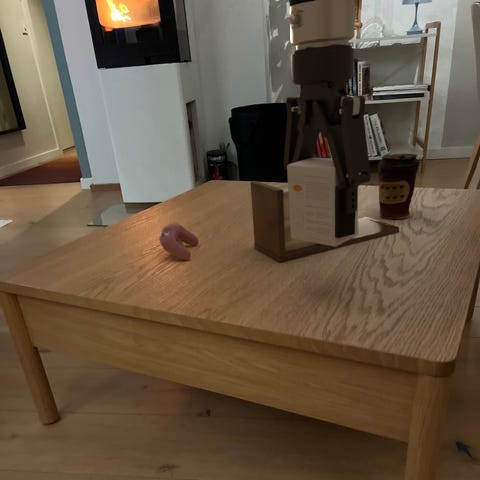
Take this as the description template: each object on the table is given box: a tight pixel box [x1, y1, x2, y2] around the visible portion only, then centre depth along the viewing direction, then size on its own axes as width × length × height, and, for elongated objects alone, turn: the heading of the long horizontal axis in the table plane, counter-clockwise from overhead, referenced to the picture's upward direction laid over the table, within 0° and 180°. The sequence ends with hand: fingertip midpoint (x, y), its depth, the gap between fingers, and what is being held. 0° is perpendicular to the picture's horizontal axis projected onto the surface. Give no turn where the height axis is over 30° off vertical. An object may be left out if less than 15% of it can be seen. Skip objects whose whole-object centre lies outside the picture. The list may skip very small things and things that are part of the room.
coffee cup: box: [377, 153, 421, 220], centre depth 103 cm, size 9×8×13 cm
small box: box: [286, 157, 359, 247], centre depth 66 cm, size 8×6×10 cm
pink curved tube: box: [158, 221, 199, 261], centre depth 94 cm, size 10×5×7 cm, turn 174°
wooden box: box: [250, 180, 400, 263], centre depth 92 cm, size 10×28×13 cm, turn 116°
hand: (323, 227), depth 68 cm, fingers closed on small box, 9 cm apart
